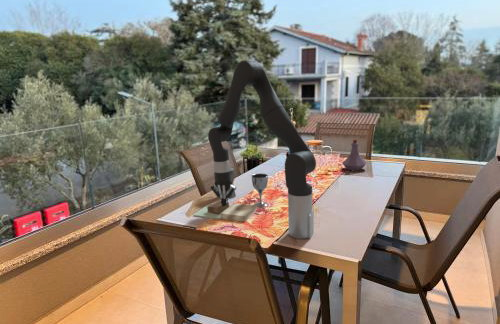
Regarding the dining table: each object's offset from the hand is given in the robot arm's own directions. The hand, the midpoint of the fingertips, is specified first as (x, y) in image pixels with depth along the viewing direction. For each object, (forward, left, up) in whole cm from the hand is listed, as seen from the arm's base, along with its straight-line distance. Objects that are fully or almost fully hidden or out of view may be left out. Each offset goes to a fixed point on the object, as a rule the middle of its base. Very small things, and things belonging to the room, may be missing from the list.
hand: (224, 205), depth 158 cm
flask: (-49, -96, -4) cm, 108 cm away
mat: (+6, 0, -4) cm, 7 cm away
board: (-7, 0, -4) cm, 8 cm away
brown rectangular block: (+4, -1, -2) cm, 4 cm away
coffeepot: (+11, -23, -4) cm, 26 cm away
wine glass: (-12, -15, -4) cm, 20 cm away
